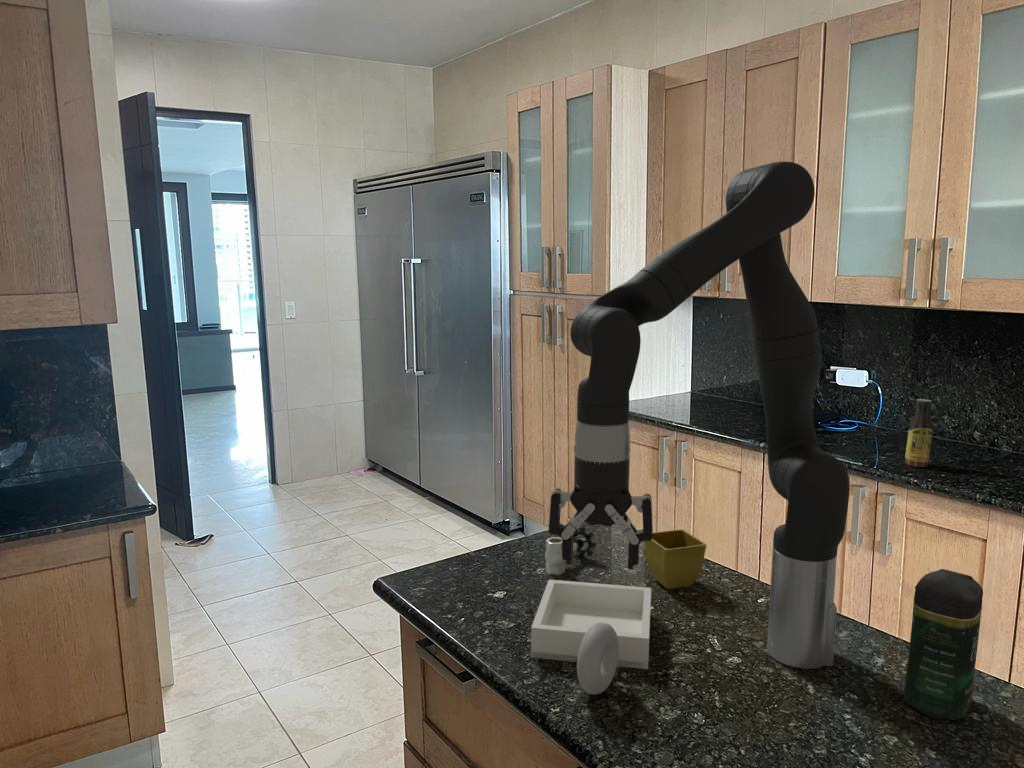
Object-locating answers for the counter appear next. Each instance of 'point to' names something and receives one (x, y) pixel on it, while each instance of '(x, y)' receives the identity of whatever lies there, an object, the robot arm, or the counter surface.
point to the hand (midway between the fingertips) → (599, 564)
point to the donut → (597, 658)
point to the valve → (555, 551)
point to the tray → (592, 620)
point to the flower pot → (675, 558)
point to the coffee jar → (943, 644)
